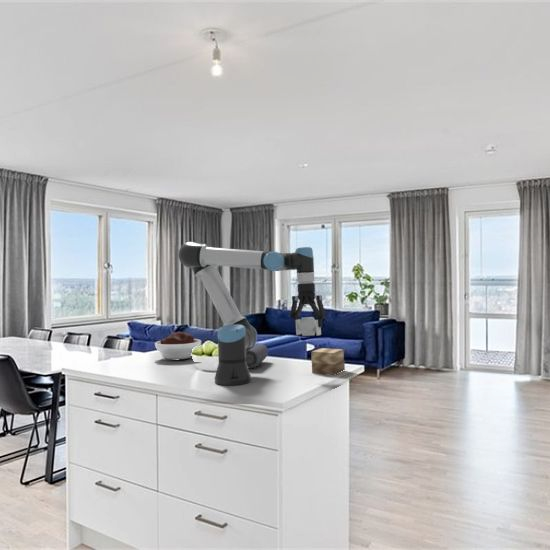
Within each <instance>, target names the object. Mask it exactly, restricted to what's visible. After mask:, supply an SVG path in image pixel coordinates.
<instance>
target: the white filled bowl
mask: <svg viewBox="0 0 550 550" xmlns="http://www.w3.org/2000/svg"><path fill="white" fill-rule="evenodd" d="M154 346H155V348H156V350H157V351H158V352H159V353H160V356H161V357H162V358H163V359H165V360H171V359H184V360H186V359H189V358H192V357H191V353H192V349H193V348H194V347H196V346H200V347H201V346H202V340H201V339H197V338H195V337H194V336H193V335H192V334H190V333H189V332H183V331H177V332H176V331H175V332H171V334H170V335H169V336H166V338H162V339H160V340H158V341H156V342H154Z"/></svg>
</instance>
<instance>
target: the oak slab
mask: <svg viewBox="0 0 550 550" xmlns="http://www.w3.org/2000/svg"><path fill="white" fill-rule="evenodd" d="M310 354H311V355H310V356H311V357H310V358H311V359H310V360H311V362H310V363H311V364H312V363H322V364H336V363H339V362H341V361H345V358H344V357H345V355H344V354H345V353H344V348H343V349H340V348H323V347H321V348H318V349H314V350H312V351H311V353H310Z"/></svg>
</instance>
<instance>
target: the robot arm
mask: <svg viewBox="0 0 550 550" xmlns="http://www.w3.org/2000/svg"><path fill="white" fill-rule="evenodd" d="M177 256H178V259H179V261H180V263H181V264H182V266H184V267H186V268H190V269H191V270H192V271H193V273H194V276H195V277H197V278H200V280H201V282H202V283H203V286H204V288H205V290H206V291H207V294H208V295H209V297H210V299H211V301H212V304H213V305H214V307H215V309H216V311H217V313H218V315H219V317H220V319H221V321H222V323H223V326H220V327H219V328H218V330H217V349H218V352H217V353H218V364H217V368H216V372H215V376H214V383H215V384H216V385H222V386H240V385H245V384H248V383H250V382H252V375H251V373H250V370H249V367H248V366H247V363H246V351H248V350H250V349H251V348H252V347H253V346H254V345H255V344H257V342H258V341H257V340H258V332H257V329H256V328H255V327H254V326H253V325H251V324H250V323H249V321H248V319H247V317H246V316H243V315H242V314H241V313H240V311H239V309H238V307H237V305H236V302H235V301H234V299H233V297H232V296H231V294H230V291H229V289H228V287H227V286H226V283H225V281H224V280H223V278H222V276H221V274H220V272H219V270H218V267H229V268H230V267H231V268H240V269H241V268H243V269H255V270H267V271H271V272H279V271H295V270H296V282H297V293H298V294H297V295H293V296H291V300H292V303H291V308H290V313H289V319H293V320H294V321H293V323H294V324H293V325H294V327H295V333H296V334H295V335H296V336H299V335H302V334H301V332H300V330H299V323H300V321H301V318H300V316H301V314H302V310H303V309H304V307H305V305H309V307H311V309H312V311H313V313H314V315H315V317H316V319H315V321H316V333H315V334H316V335H315V336H321V335H322V329H321V328H322V327H323V319H326V318H327V315H326V311H325V308H324V303H323V301H322V300H323V295H321V294H319V295H317V294H316V284H315V264H314V262H315V261H314V260H315V259H314V253H313V248H312V247H310V246H302V247H300V246H299V247H296V248H295V251H294V252H283V253H282V252H278V251H264V250H253V249H252V250H251V249H237V248H236V249H235V248H225V247H224V248H222V247H213V246H211V245H209V244H208V243H205V242H197V241H188V242H186V243H184V244H182V245H181V247H180V248H179V250H178V255H177ZM298 300H299V301H298ZM315 301H316V302H315Z"/></svg>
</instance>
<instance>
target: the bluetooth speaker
mask: <svg viewBox="0 0 550 550" xmlns="http://www.w3.org/2000/svg"><path fill="white" fill-rule="evenodd" d="M268 353H269V349H268V347H267V346H266V345H265V344H263V343H256V344H255V345H254V346H253V347H252V348H251V349H250V350H248V351H246V363H247V366H248V369H249V368H251V369H253V368H254V369H255V368H257V367H259V366H260V365H261V363H262V362H263V361H264V360H265V359H266V358H267V357H268Z"/></svg>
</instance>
